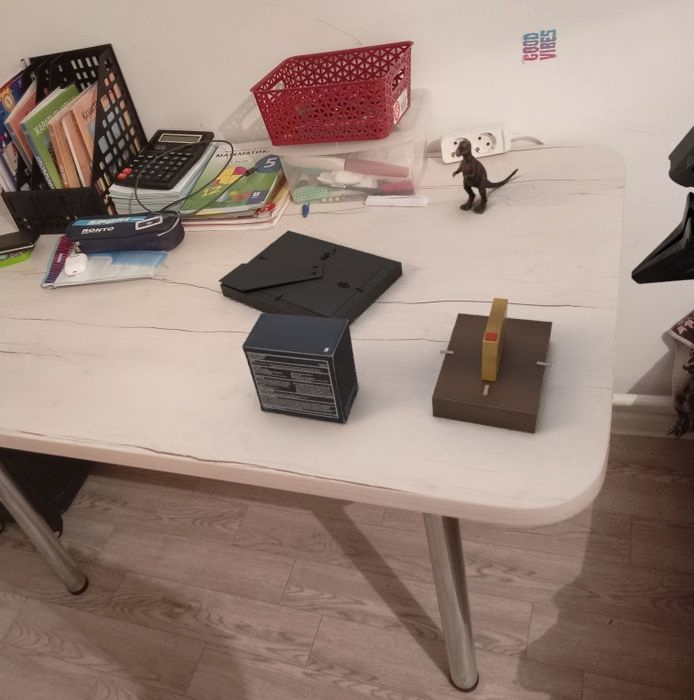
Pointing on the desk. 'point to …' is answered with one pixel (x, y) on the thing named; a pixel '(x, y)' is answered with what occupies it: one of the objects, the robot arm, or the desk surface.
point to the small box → (302, 366)
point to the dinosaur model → (474, 177)
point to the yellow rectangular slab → (494, 339)
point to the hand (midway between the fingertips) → (634, 278)
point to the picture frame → (311, 279)
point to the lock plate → (512, 378)
